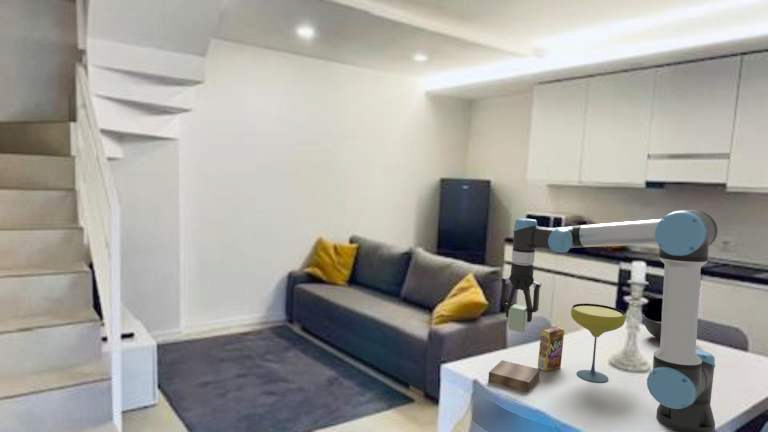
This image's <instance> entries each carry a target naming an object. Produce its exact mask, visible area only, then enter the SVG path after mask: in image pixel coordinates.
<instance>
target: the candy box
mask: <svg viewBox="0 0 768 432" xmlns="http://www.w3.org/2000/svg"><path fill="white" fill-rule="evenodd" d="M540 331H541V332H540V339H539V350H538V361H537V369H540V371H541V370H542V371H544V372H548V371H551V370H556V369H560V368H561V366H562V358H563V345H564V337H565V329H564V328H562V327H560V326H551V327H547V328H541V330H540Z"/></svg>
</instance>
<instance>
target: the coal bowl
mask: <svg viewBox="0 0 768 432" xmlns="http://www.w3.org/2000/svg"><path fill="white" fill-rule="evenodd" d="M662 304H663V297H662V298H661V297H660V298H654V299H652V300H651V301H649V302H648V304H647V309H646V311H645V312H644V314H643V315H642V322H643V324H644V326H645V328H646V330H647V332H648V333H649V334H651V336H653V337H654V338H656V339H657V340H661V322H662Z"/></svg>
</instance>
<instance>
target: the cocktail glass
mask: <svg viewBox="0 0 768 432" xmlns="http://www.w3.org/2000/svg"><path fill="white" fill-rule="evenodd" d="M570 315H571V318H572V319H573V321H575V322H576V324H578V325H579V326H580V327H583V328H584V329H586V330H587V331H589V333H590V334H591V335H592V337H593V338H594V344H593V354H592V362H591V363H592V365H591V369H581V370H578V371H577V372H576V375H577V376H578V377H579V378H580V379H582V380H584V381H588V382H591V383H599V384H600V383H602V384H603V383H607V382H608V381H609V377H608V376H607V375H606V374H604V373H602V372H599V371H596V370H595V363H596V351H597V350H596V347H597V338H600V337H601V336H602V335H603V334H605V333H607V332H612V331H615V330H618V329H620V328H622V327H623V326H624V325H625V322H626V314H625V312H624V311H623V310H621V309H618V308H616V307H611V306H608V305H603V304H598V303H577V304H573V305H572V307H571V310H570Z"/></svg>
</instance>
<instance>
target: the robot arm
mask: <svg viewBox="0 0 768 432" xmlns="http://www.w3.org/2000/svg"><path fill="white" fill-rule="evenodd" d="M513 226H514V228H513V231H512V232H513V240H512V250H511V252H512V253H511V262H512V263H511V265H510V275H509V276H508V277H504V278H502V279H501V282H502V290H501V291H502V293H501V303H500V304H501V306H502V307H504V308H506V309H505V312H506V313H505V317H506V318H507V328H508V329H509V316H510V307H511V306H513V305H514V301H515V298H516V295H517V292H518V291H519V290H520V291H523V294H524V300H525V306H526V307H527V312H525V321H524V332H527V331H528V330H529V327H530V326H529V323H531V322H532V320H533V313H537V312H538V310H539V305H540V304H539V303H540V302H539V301H540V289H541V287H542V283H541V282H537V281H535V279H534V271H535V270H534V268H535V266H534V263H535V255H536V249H537V250H538V249H539V250H544V251H545V250H546V251H551V252H555V253H568V252H569V250H571V249H573V248H590V247H591V248H592V247H595V248H596V247H616V246H617V247H619V246H641V245H657V246H658V247H659V248H658V259H659V260H660V261H661V262H662V263H663V264H664V267H663V268H664V269H663V271H664V272H663V286H662V287H663V289H662V299H663V304H662V312H661V313H662V322H661V340H660V339H659V340H660V342H659V343H660V344H659V348H657V349H656V350H655V351H653V360H652V361H653V362H652V370H651V371H649V373H648V375H647V378H646V385H647V390H648V391H649V394H650V395H651V396H652V397H653V398H654V400H655V401H657V403H659V404H658V406H657V409H656V419H657V421H658V422H659V423H660V424H662V426H663V425H664V426H665V427H666V428H668V429H670V430H672V431H674V432H715V430H716V422H715V418H714V415H713V410H712V406H711V401H712V400H711V399H712V393H713V392H712V391H713V383H714V382H713V381H714V372H715V367H716V363H715V361H716V359H715V356H714V355H713V354H712V353H710V352H708V351H705V350H702V349H699V348H697V340H698V339H697V338H698V321H699V320H698V319H699V318H698V317H699V301H700V286H701V285H700V284H701V268H702V267H703V266H704V265H706V264H707V263H708V261H709V251H710V250H709V247H710V246H711V245H712V244H713V243H714V242H715V241H716V239H717V236H718V230H719V229H718V224H717V223H716V220H715V218H713V216H711V215H710V214H709V213H707V212H706V211H702V210H698V209H689V210H687V209H686V210H676V211H675V210H674V211H673V212H670V213H667V214H666V215H664V216H663V217H661V218H659V219H647V220H634V221H633V220H632V221H618V222H607V223H606V222H605V223H595V224H594V223H593V224H581V225H578V224H577V225H568V226H560V227H559V226H557V227H547V226H546V227H545V226H539V225H538V221H537V220H536V219H532V218H517V219H515V220H514V225H513ZM510 283H511V285H512V287H511V292H510V295H508V294H509V284H510ZM530 287H532V288H533V298H531V290H530ZM508 296H509V297H508ZM532 299H533V300H532Z"/></svg>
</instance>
